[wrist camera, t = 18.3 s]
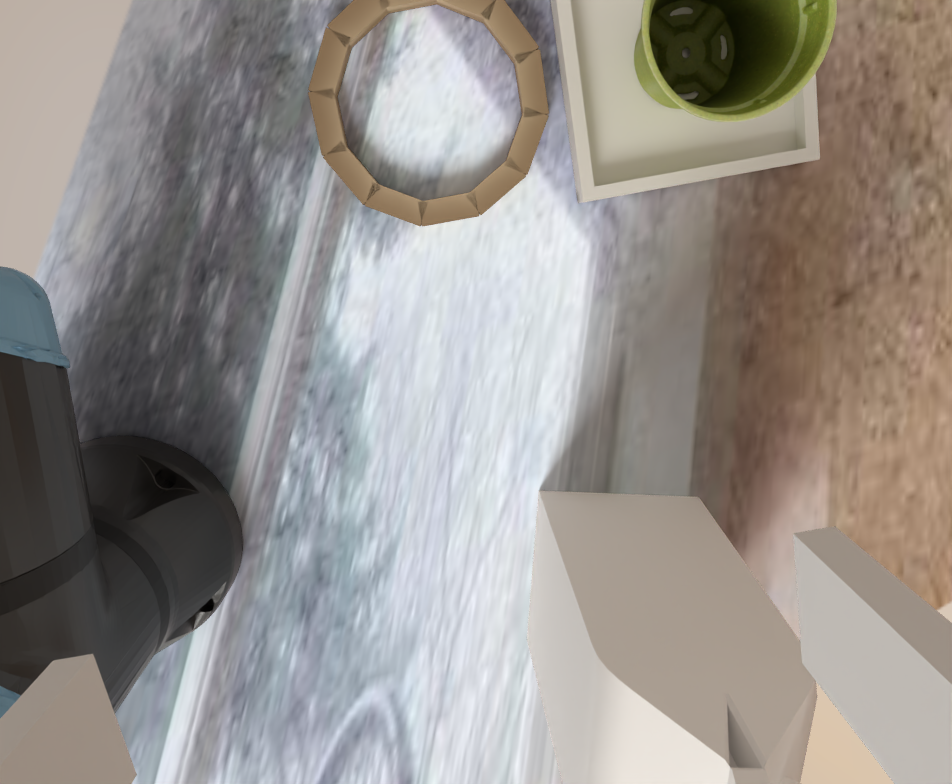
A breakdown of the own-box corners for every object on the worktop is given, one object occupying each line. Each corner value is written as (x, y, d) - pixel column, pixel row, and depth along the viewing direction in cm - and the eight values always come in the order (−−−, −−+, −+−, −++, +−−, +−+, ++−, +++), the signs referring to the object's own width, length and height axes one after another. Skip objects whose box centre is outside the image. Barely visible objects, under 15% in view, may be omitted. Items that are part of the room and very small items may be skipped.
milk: (538, 490, 50) (622, 776, 24) (698, 496, 50) (943, 784, 25) (526, 639, 52) (590, 1032, 27) (677, 644, 53) (877, 1035, 28)
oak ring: (343, 240, 45) (340, 241, 44) (291, 3, 41) (287, -3, 40) (558, 201, 45) (561, 201, 43) (524, -41, 41) (526, -48, 40)
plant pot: (767, 122, 43) (843, 100, 35) (617, 152, 43) (655, 138, 35) (753, -45, 41) (831, -113, 32) (594, -13, 41) (630, -71, 32)
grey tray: (577, 202, 45) (583, 202, 43) (543, -51, 41) (547, -64, 39) (804, 161, 44) (820, 159, 42) (790, -97, 41) (806, -113, 39)
